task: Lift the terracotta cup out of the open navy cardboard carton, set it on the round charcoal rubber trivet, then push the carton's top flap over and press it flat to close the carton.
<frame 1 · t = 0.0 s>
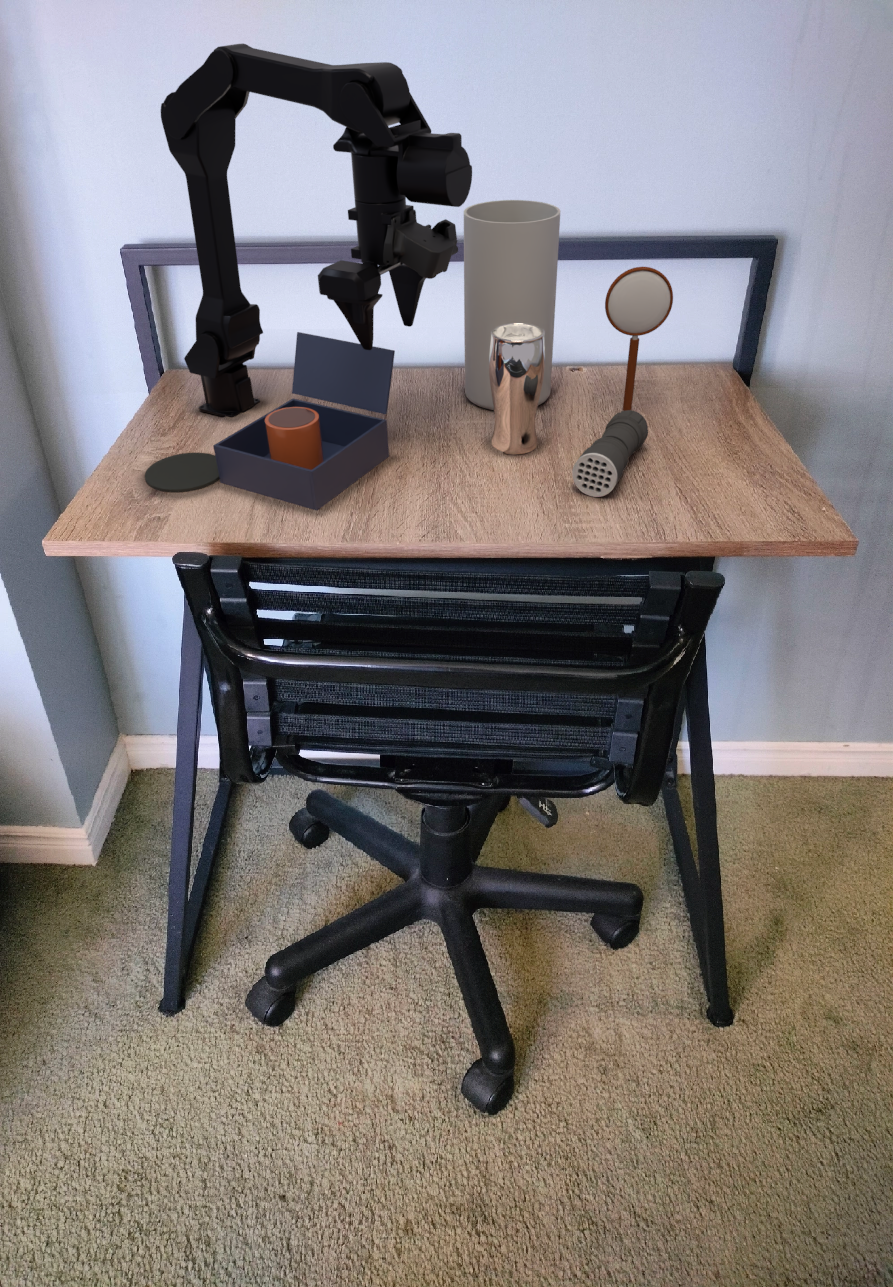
hand: (388, 337, 109), 15 cm above the table, tool pointing down, fingers open, 9 cm apart
beer glass: (514, 446, 118), on the table
magnifying glass: (626, 418, 125), on the table
carton: (306, 471, 113), on the table
trivet: (186, 475, 113), on the table
flashlight: (610, 472, 112), on the table
cylinder vase: (507, 397, 131), on the table
cup: (299, 473, 112), resting on carton
flap: (341, 372, 114), point 10 cm above the table, hinge at 110.0°
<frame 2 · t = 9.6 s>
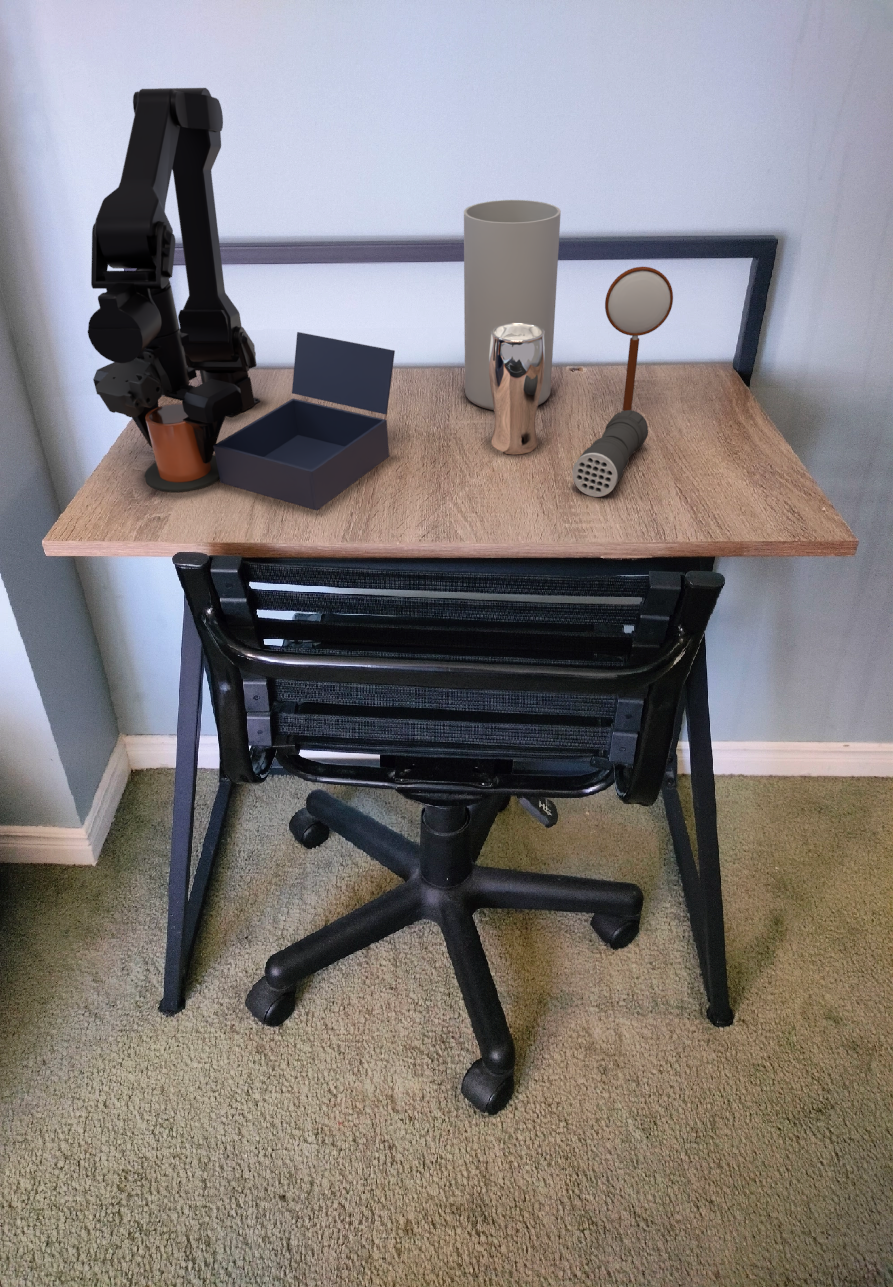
hand: (181, 454, 112), 3 cm above the table, tool pointing down, fingers open, 8 cm apart
cup: (185, 470, 113), point 1 cm above the table, touching trivet
everything else where it was.
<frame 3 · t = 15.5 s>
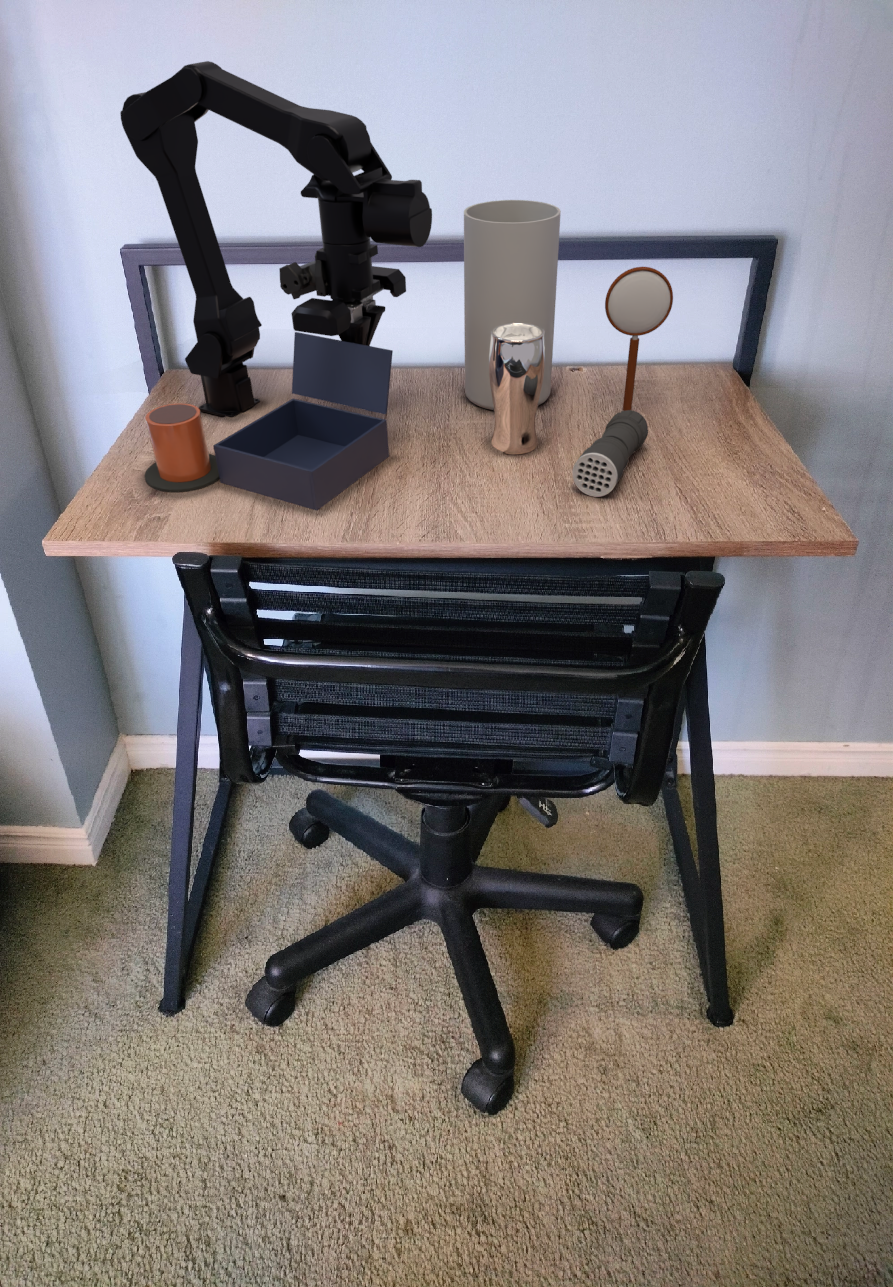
hand: (357, 366, 116), 9 cm above the table, tool pointing down, fingers closed
flap: (340, 372, 114), point 10 cm above the table, hinge at 106.2°, touching gripper
everything else where it was.
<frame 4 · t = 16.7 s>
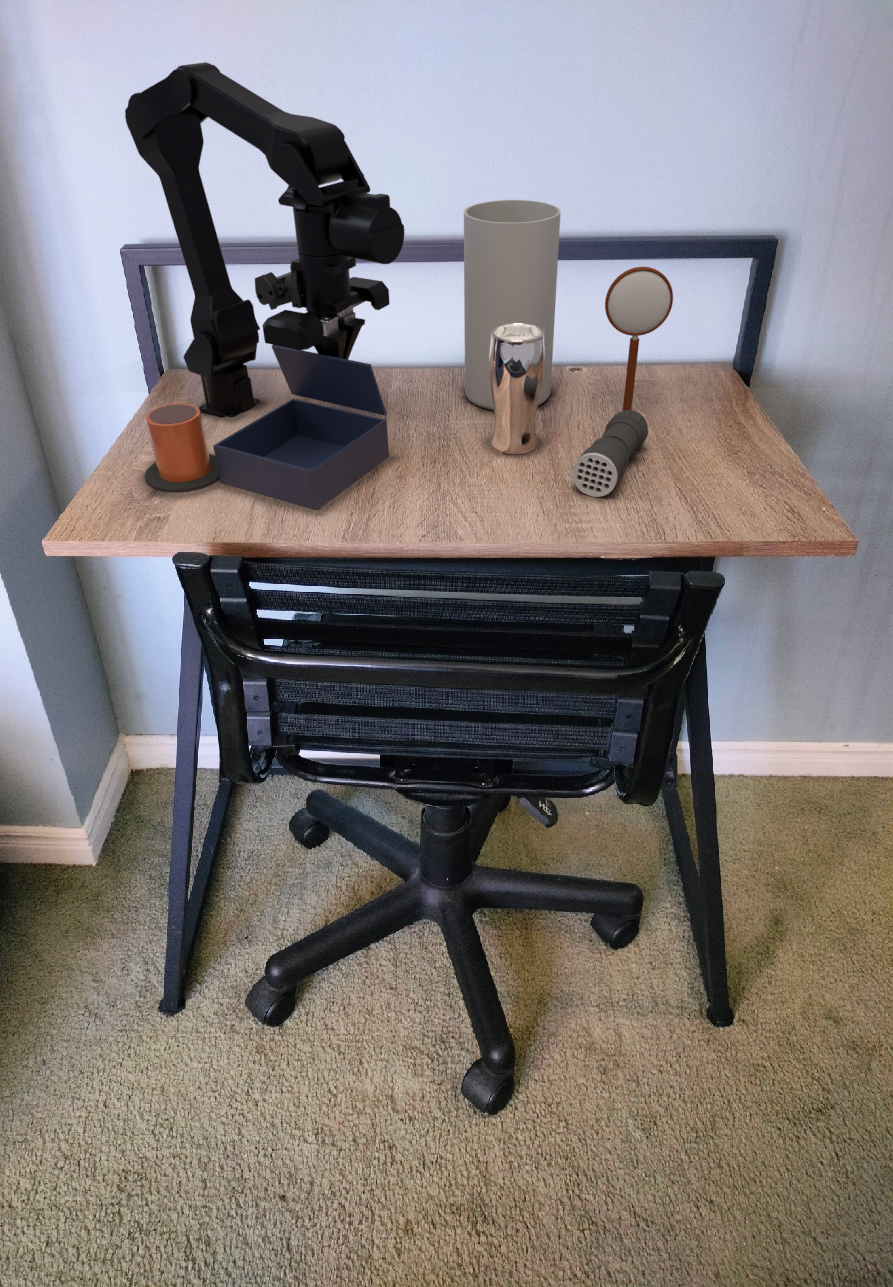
hand: (335, 380, 113), 9 cm above the table, tool pointing down, fingers closed
flap: (329, 380, 112), point 10 cm above the table, hinge at 70.0°, touching gripper
everything else where it was.
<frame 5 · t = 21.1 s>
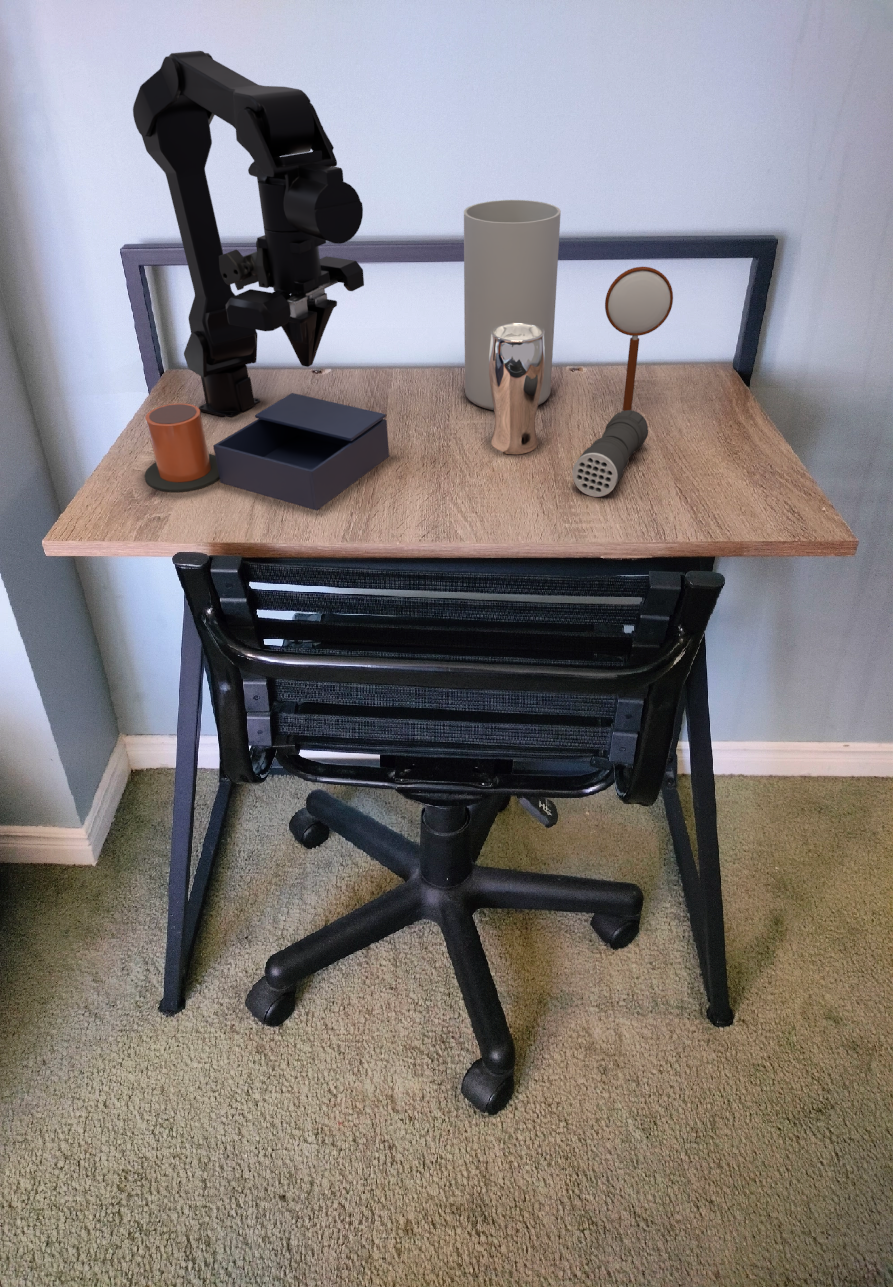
hand: (306, 365, 107), 13 cm above the table, tool pointing down, fingers closed
flap: (320, 415, 112), point 6 cm above the table, hinge at -0.4°
everything else where it was.
at the end: cup 0.0 cm off-centre on the trivet, point 0.8 cm above the trivet's base; cup tilted 0°; flap at +0° (first picture: +110°) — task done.
